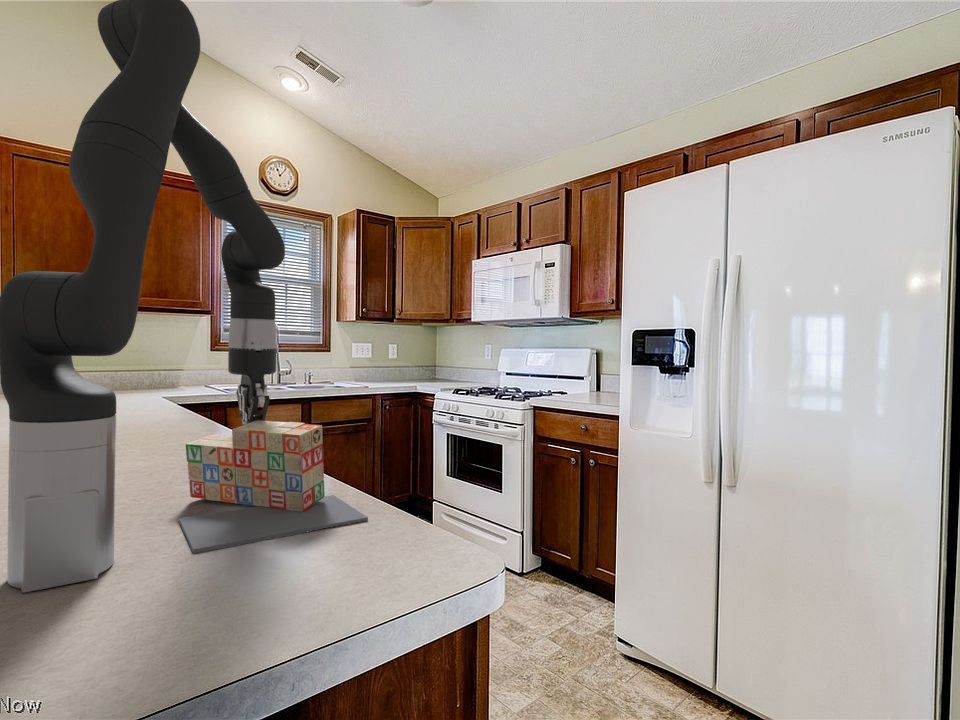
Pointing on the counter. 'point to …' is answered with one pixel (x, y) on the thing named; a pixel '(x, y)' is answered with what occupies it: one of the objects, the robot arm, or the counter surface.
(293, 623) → the counter surface
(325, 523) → the mat
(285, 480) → the stack of blocks
